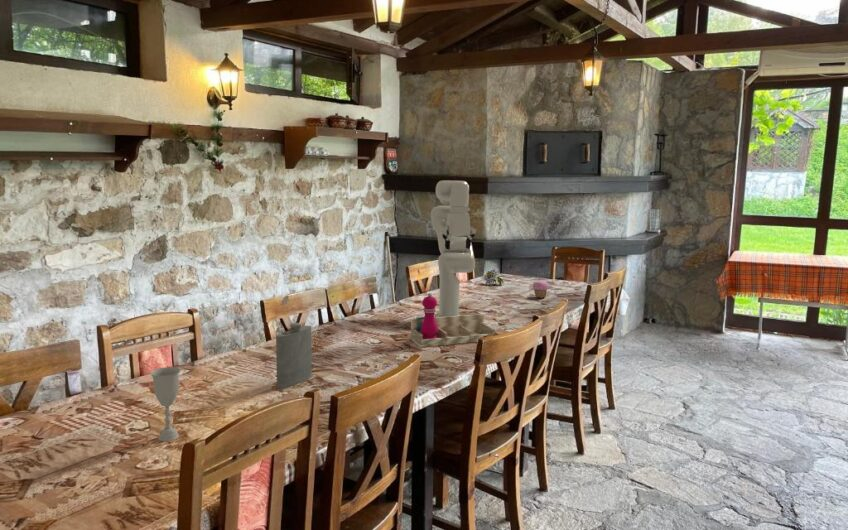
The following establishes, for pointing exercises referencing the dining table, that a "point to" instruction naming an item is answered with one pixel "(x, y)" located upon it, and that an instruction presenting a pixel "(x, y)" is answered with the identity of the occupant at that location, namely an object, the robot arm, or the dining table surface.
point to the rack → (452, 330)
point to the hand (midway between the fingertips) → (457, 248)
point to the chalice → (166, 396)
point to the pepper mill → (429, 318)
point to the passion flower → (492, 277)
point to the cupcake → (540, 288)
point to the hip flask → (293, 356)
